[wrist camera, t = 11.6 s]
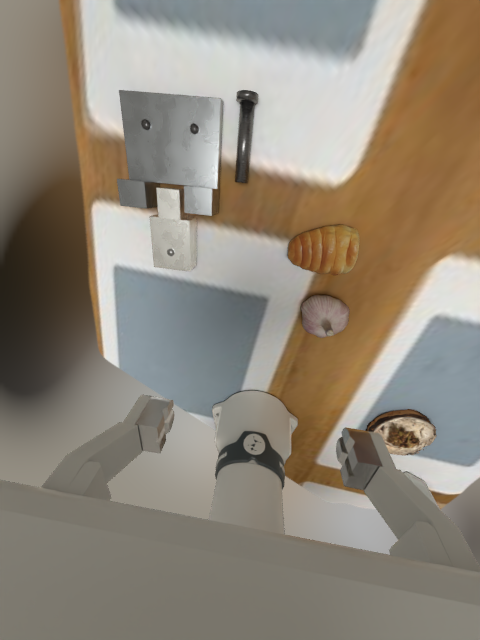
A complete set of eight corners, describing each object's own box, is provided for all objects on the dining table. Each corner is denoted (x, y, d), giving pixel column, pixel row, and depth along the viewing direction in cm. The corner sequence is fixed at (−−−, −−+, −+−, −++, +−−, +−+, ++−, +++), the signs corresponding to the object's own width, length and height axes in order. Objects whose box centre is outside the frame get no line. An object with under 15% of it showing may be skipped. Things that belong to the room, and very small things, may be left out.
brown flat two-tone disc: (345, 437, 54) (350, 455, 50) (386, 393, 47) (396, 410, 43) (405, 457, 55) (414, 476, 51) (454, 417, 48) (469, 436, 44)
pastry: (286, 270, 37) (287, 278, 34) (288, 224, 34) (290, 228, 31) (349, 271, 36) (357, 279, 33) (358, 223, 33) (367, 226, 30)
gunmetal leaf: (218, 212, 34) (211, 215, 30) (137, 203, 35) (120, 205, 31) (223, 102, 28) (215, 88, 25) (125, 94, 29) (103, 80, 25)
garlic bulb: (293, 298, 39) (297, 322, 32) (338, 281, 37) (353, 303, 30) (308, 334, 42) (315, 364, 35) (351, 321, 40) (367, 349, 33)
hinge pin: (250, 183, 32) (248, 183, 30) (233, 181, 32) (229, 181, 30) (259, 98, 28) (257, 91, 26) (238, 96, 28) (235, 89, 26)
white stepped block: (196, 264, 39) (189, 272, 35) (163, 260, 39) (153, 267, 36) (196, 190, 33) (188, 191, 30) (158, 186, 34) (146, 186, 30)
